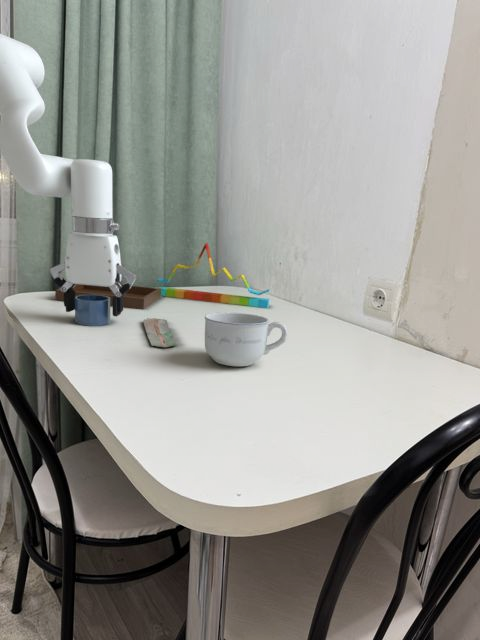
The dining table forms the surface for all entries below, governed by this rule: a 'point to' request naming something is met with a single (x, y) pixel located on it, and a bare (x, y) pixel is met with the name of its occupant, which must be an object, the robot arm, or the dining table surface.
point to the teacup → (239, 337)
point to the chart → (213, 296)
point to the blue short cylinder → (92, 310)
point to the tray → (131, 298)
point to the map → (159, 332)
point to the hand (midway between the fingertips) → (93, 312)
